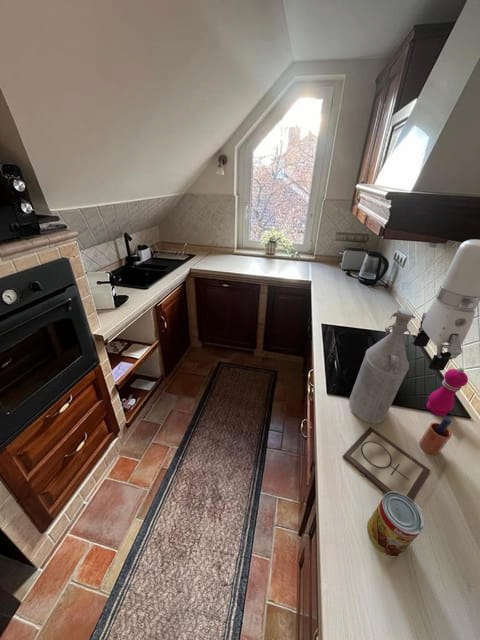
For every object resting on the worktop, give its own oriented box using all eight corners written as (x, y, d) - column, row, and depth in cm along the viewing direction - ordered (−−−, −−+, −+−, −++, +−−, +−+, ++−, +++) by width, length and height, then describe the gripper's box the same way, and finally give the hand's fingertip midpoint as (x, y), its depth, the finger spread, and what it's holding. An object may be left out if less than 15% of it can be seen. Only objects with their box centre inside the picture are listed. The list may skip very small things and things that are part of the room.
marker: (433, 447, 79) (452, 419, 72) (431, 451, 78) (450, 423, 71) (426, 443, 80) (445, 415, 73) (424, 446, 79) (443, 418, 72)
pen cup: (440, 449, 79) (453, 431, 74) (434, 459, 76) (447, 441, 71) (422, 437, 82) (433, 419, 78) (415, 446, 80) (427, 428, 75)
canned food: (387, 564, 56) (407, 542, 49) (359, 524, 62) (374, 500, 56) (411, 546, 58) (433, 523, 52) (382, 509, 64) (399, 485, 58)
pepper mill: (424, 399, 97) (448, 358, 86) (447, 408, 93) (475, 366, 83) (423, 411, 91) (448, 369, 81) (447, 421, 88) (476, 379, 78)
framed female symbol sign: (429, 472, 73) (431, 469, 72) (405, 511, 64) (407, 509, 64) (369, 428, 85) (370, 426, 84) (342, 456, 76) (343, 454, 76)
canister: (347, 418, 88) (383, 321, 68) (350, 385, 102) (381, 296, 81) (387, 433, 84) (439, 333, 63) (385, 396, 97) (427, 304, 77)
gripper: (502, 318, 49) (460, 382, 58) (455, 284, 64) (428, 339, 73) (459, 313, 50) (424, 377, 59) (423, 281, 65) (400, 336, 74)
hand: (426, 356), depth 66 cm, fingers open, 9 cm apart
